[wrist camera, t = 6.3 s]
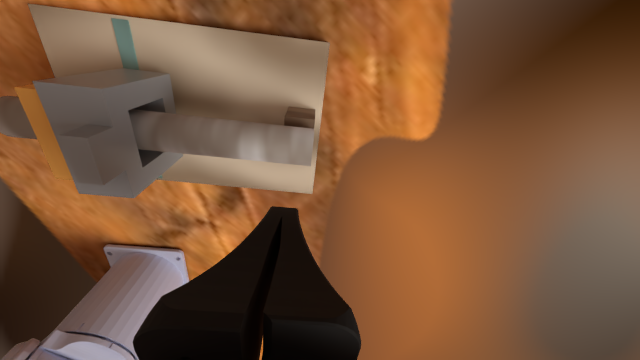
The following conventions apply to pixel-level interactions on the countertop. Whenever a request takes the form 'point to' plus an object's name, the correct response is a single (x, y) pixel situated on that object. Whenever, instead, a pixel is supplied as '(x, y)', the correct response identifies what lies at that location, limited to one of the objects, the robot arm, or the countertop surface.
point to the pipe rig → (201, 94)
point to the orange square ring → (43, 131)
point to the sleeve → (107, 127)
